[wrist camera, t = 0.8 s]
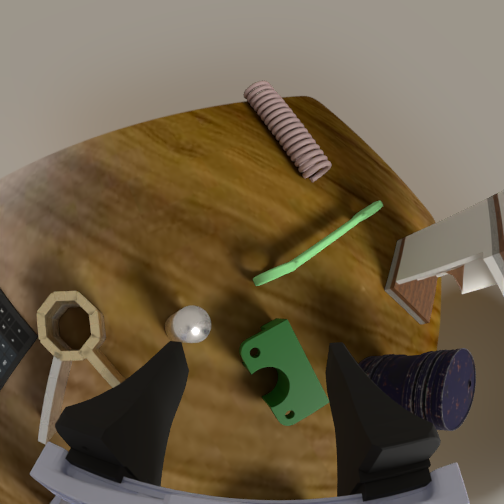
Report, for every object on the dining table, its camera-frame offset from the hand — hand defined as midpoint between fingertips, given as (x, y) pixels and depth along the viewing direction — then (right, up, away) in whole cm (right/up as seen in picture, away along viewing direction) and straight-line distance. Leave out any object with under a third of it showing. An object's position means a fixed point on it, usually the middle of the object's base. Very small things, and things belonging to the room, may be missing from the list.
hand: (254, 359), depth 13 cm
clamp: (+2, -8, +18) cm, 20 cm away
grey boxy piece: (+27, 0, +32) cm, 42 cm away
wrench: (+9, +6, +26) cm, 28 cm away
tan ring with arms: (-16, -8, +9) cm, 20 cm away
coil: (+4, +23, +29) cm, 37 cm away
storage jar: (+17, -14, +22) cm, 31 cm away
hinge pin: (-8, -3, +15) cm, 17 cm away
